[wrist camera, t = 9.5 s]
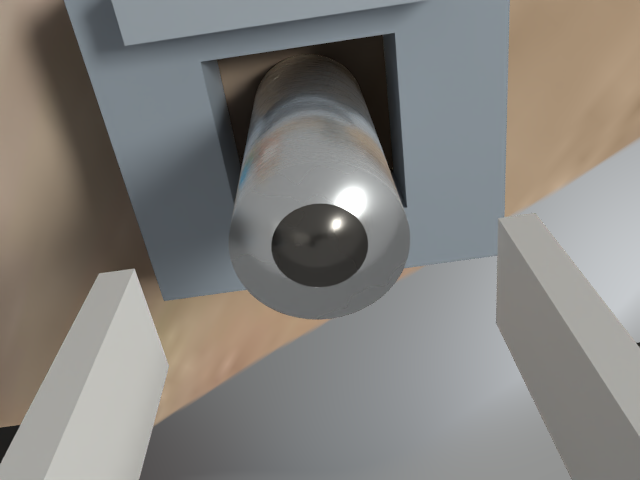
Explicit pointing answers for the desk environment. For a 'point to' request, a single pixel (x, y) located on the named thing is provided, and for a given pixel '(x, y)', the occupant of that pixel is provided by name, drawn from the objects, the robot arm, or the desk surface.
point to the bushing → (315, 196)
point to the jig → (217, 135)
